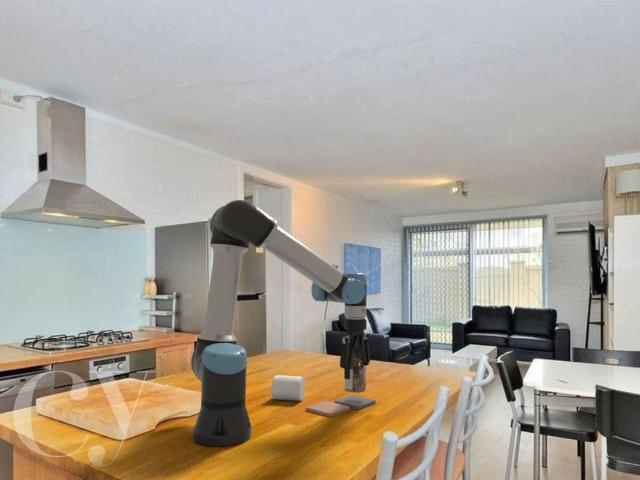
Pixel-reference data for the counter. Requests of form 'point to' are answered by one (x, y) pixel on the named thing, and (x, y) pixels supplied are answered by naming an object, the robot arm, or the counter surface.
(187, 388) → the counter surface
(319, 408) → the terracotta tile
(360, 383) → the figurine
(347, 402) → the slate tile
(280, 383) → the white rounded block
